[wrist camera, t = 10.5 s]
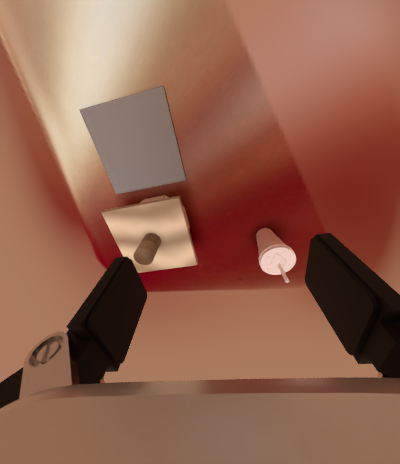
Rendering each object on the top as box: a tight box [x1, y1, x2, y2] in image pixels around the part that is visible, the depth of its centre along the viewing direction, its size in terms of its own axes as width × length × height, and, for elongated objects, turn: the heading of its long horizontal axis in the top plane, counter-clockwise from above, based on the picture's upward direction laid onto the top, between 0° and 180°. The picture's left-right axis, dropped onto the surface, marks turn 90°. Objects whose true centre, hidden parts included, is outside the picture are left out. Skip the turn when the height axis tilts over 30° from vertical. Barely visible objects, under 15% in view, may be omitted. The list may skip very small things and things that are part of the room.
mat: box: [80, 86, 186, 194], centre depth 34 cm, size 15×15×1 cm
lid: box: [101, 196, 198, 273], centre depth 32 cm, size 14×14×6 cm
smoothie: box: [256, 228, 296, 283], centre depth 35 cm, size 6×6×14 cm
